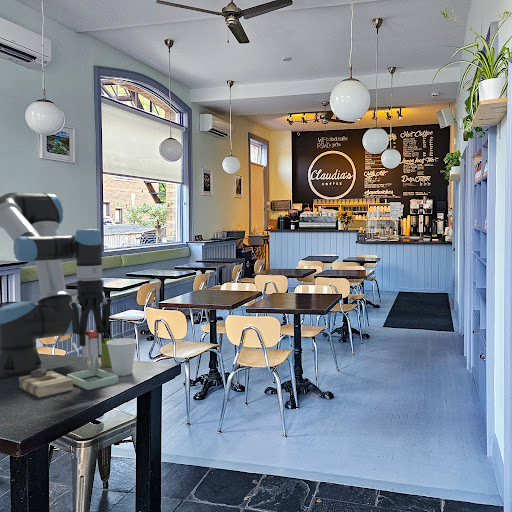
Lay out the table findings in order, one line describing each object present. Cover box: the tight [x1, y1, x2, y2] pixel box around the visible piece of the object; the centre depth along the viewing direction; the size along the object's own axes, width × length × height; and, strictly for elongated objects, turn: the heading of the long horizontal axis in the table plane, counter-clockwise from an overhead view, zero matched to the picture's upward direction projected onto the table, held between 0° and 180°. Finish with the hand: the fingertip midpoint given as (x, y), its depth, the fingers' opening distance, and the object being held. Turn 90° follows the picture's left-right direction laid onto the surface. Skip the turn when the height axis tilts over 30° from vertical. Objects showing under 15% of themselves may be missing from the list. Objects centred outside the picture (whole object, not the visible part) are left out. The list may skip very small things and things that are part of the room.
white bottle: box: [85, 329, 100, 371], centre depth 167 cm, size 4×4×12 cm
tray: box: [66, 368, 119, 391], centre depth 168 cm, size 13×10×3 cm
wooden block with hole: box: [18, 369, 74, 398], centre depth 162 cm, size 14×10×6 cm
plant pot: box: [99, 337, 117, 368], centre depth 191 cm, size 9×9×9 cm
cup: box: [106, 337, 138, 377], centre depth 180 cm, size 10×10×11 cm
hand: (92, 354), depth 168 cm, fingers closed on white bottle, 4 cm apart
